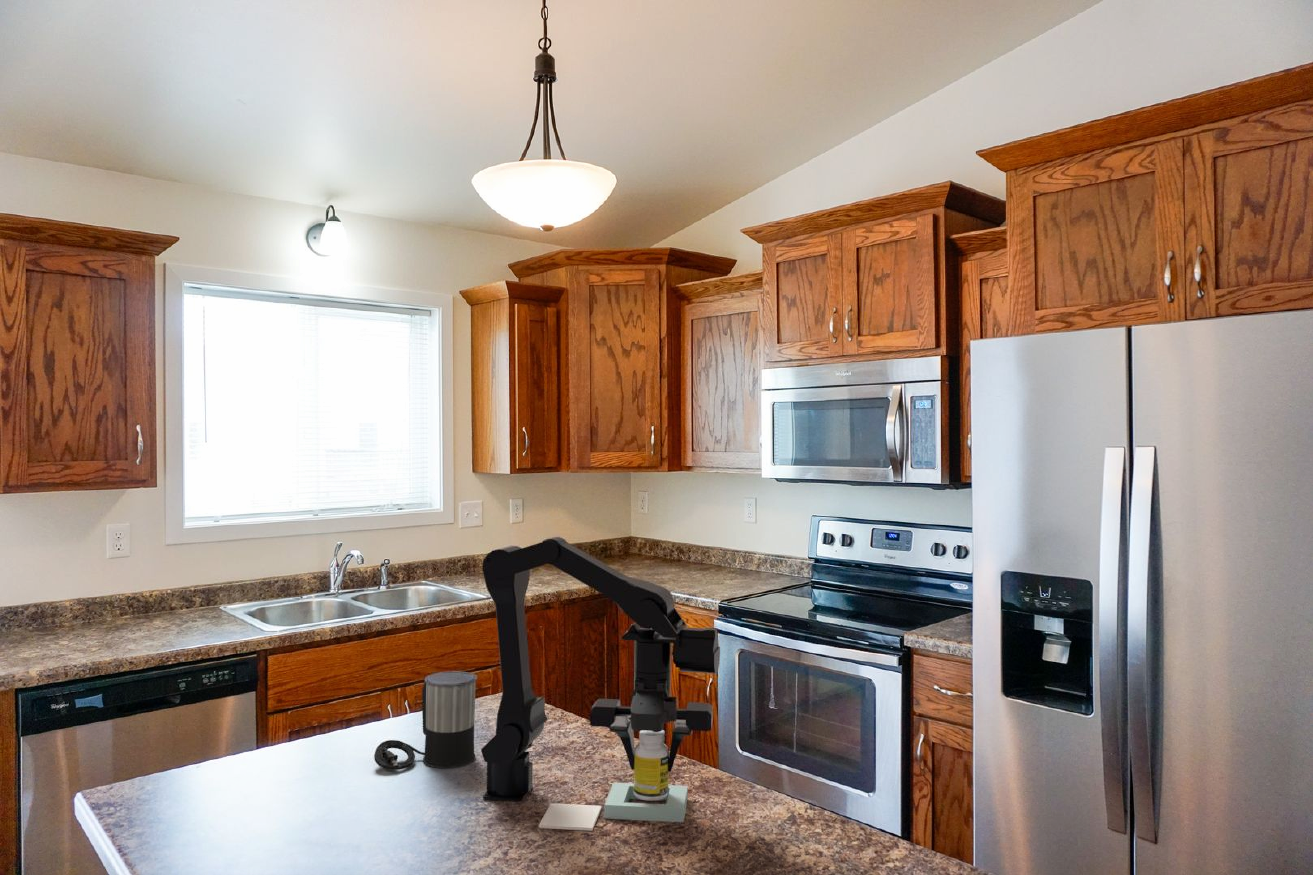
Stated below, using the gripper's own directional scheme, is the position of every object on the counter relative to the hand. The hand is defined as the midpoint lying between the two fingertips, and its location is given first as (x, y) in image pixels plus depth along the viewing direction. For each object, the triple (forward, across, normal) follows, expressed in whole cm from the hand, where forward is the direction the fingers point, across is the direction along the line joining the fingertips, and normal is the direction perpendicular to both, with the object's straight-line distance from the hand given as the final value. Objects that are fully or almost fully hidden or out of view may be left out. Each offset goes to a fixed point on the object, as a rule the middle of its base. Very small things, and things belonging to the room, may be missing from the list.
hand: (651, 769), depth 133 cm
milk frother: (+6, -42, +15) cm, 45 cm away
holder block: (+6, -1, 0) cm, 6 cm away
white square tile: (+6, -12, -5) cm, 14 cm away
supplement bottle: (+4, 0, 0) cm, 4 cm away
